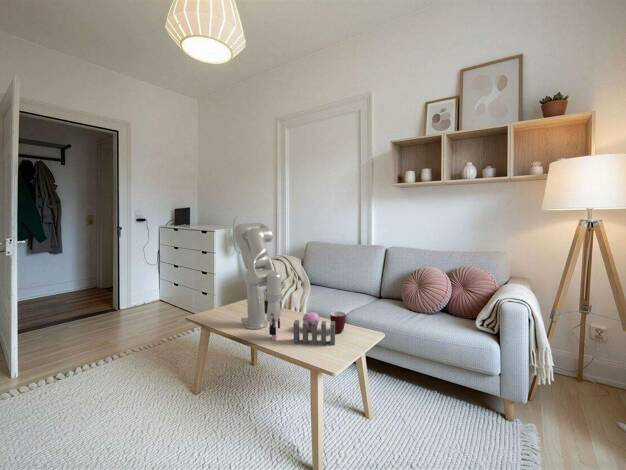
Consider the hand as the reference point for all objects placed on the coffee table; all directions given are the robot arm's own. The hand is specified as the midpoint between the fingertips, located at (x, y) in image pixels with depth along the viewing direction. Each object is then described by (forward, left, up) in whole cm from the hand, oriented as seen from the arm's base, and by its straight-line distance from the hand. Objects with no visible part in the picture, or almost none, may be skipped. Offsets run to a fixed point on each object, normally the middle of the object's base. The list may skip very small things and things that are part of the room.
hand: (274, 331), depth 155 cm
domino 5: (+29, -2, -4) cm, 30 cm away
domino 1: (+11, -2, -4) cm, 12 cm away
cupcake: (+17, +13, -4) cm, 22 cm away
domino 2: (+16, -2, -4) cm, 17 cm away
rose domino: (0, 0, -4) cm, 4 cm away
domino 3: (+20, -2, -4) cm, 21 cm away
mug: (+32, +13, -4) cm, 35 cm away
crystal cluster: (-13, +44, -4) cm, 46 cm away
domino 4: (+25, -2, -4) cm, 25 cm away
